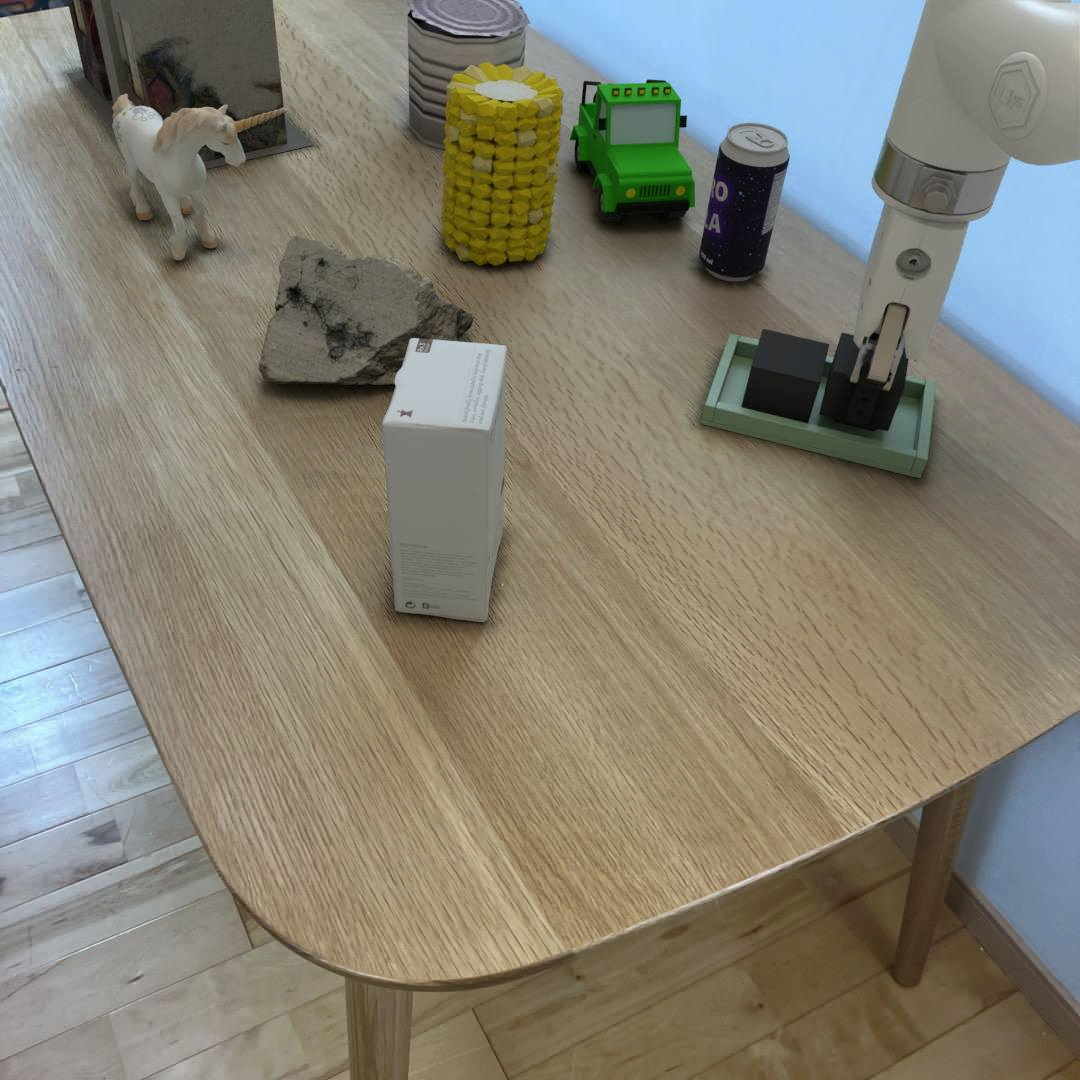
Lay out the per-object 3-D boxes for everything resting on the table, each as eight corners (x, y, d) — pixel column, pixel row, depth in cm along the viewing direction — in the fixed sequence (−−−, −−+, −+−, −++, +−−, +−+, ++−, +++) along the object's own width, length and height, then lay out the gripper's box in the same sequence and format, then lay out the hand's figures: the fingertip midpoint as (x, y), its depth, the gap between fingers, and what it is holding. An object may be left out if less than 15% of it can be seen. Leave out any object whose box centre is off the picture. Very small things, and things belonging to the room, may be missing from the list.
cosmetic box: (487, 625, 67) (496, 437, 57) (388, 614, 68) (378, 424, 57) (503, 527, 73) (514, 341, 63) (412, 517, 73) (407, 329, 63)
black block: (816, 386, 86) (829, 343, 83) (807, 425, 82) (820, 382, 79) (752, 371, 86) (763, 328, 83) (740, 409, 83) (751, 365, 80)
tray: (929, 399, 86) (936, 381, 85) (920, 478, 79) (927, 459, 78) (725, 351, 89) (729, 332, 87) (700, 423, 82) (704, 404, 81)
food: (430, 276, 96) (475, 226, 103) (558, 281, 92) (595, 228, 99) (392, 95, 87) (443, 54, 94) (532, 91, 83) (576, 49, 90)
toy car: (604, 237, 99) (617, 129, 92) (562, 146, 111) (570, 44, 104) (694, 232, 101) (713, 126, 94) (643, 143, 113) (657, 42, 105)
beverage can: (728, 244, 100) (755, 114, 91) (775, 273, 97) (808, 141, 89) (683, 263, 97) (707, 131, 89) (730, 293, 94) (760, 160, 86)
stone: (494, 377, 84) (499, 261, 77) (269, 415, 80) (253, 296, 72) (450, 293, 92) (450, 180, 85) (242, 324, 87) (224, 207, 80)
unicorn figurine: (239, 300, 89) (215, 141, 80) (80, 215, 96) (40, 59, 87) (303, 263, 93) (287, 108, 84) (146, 184, 101) (115, 33, 91)
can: (444, 92, 118) (444, -29, 109) (541, 120, 115) (549, -2, 106) (387, 135, 110) (382, 8, 102) (489, 165, 107) (493, 38, 99)
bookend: (152, 181, 101) (115, -7, 90) (66, 73, 115) (24, -101, 103) (313, 144, 108) (298, -34, 96) (213, 47, 122) (189, -119, 110)
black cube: (894, 391, 84) (910, 347, 81) (888, 431, 80) (904, 387, 78) (827, 375, 85) (841, 331, 82) (819, 414, 81) (832, 370, 78)
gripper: (996, 252, 63) (900, 487, 76) (1003, 125, 74) (918, 348, 87) (863, 223, 64) (791, 460, 77) (890, 103, 76) (823, 326, 89)
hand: (859, 398), depth 82 cm, fingers closed on black cube, 5 cm apart
